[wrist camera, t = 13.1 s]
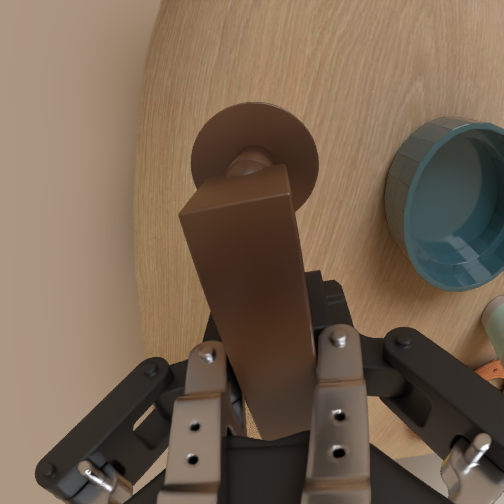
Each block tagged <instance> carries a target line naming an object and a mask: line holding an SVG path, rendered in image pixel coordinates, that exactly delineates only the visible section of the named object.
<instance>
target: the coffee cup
mask: <svg viewBox="0 0 504 504" xmlns="http://www.w3.org/2000/svg"><path fill="white" fill-rule="evenodd" d="M481 321H482V324H483V326H484V328H485V330H486V333H487V335H488V337H489V339H490V341H491V343H492V345H493V347H494V349H495V352H496V354H497V356H498V358H499V360H500V363H501V365H502V367H503V370H504V295H502V296H499V297H497V298H495V299H494V300H492V301H491V302H490V303H489V304H488V305H487V307H486V308H485V310H484V312H483V314H482V318H481Z"/></svg>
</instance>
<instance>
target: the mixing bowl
mask: <svg viewBox="0 0 504 504" xmlns="http://www.w3.org/2000/svg"><path fill="white" fill-rule="evenodd" d="M385 215H386V219H387V223H388V226H389V229H390V233H391V235H392V237H393V238H394V240H395V241H396V243H397V245H398V246H399V248H400V249H401V251H402V252H403V253H404V255H405V256H406V258H407V259H408V260H409V262H410V263H411V264H412V266H413V267H414V269H415V270H416V272H417V273H418V274H419V275H420V276H421V277H422V278H423V279H425V280H426V281H427V282H428V283H429V284H430V285H432V286H434V287H437V288H440V289H442V290H445V291H458V292H462V291H467V290H471V289H475V288H478V287H480V286H482V285H484V284H486V283H488V282H490V281H491V280H493V279H494V278H496V277H497V276H498V275H499V274H500V273H501V272H503V271H504V129H503V128H500V127H498V126H496V125H493V124H491V123H487V122H483V121H478V120H473V119H468V118H462V117H442V118H439V119H436V120H433V121H431V122H428V123H425V124H424V125H423V126H421V127H420V128H419V129H418V130H416V131H415V132H414V133H412V134H411V135H410V136H409V137H408V139H407V140H406V141H405V143H404V144H403V145H402V147H401V148H400V149H399V150H398V152H397V154H396V156H395V159H394V161H393V163H392V166H391V168H390V170H389V173H388V178H387V184H386V189H385Z"/></svg>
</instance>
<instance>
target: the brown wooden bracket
mask: <svg viewBox="0 0 504 504" xmlns="http://www.w3.org/2000/svg"><path fill="white" fill-rule="evenodd" d="M318 169H319V160H318V153H317V149H316V145H315V143H314V140H313V138H312V136H311V134H310V132H309V131H308V130H307V128H306V127H305V126H304V124H303V123H302V122H301V121H300V120H299V119H298V118H297V117H295V116H294V115H293V114H291V113H290V112H288V111H286V110H285V109H283V108H281V107H279V106H276V105H273V104H269V103H263V102H247V103H240V104H237V105H233V106H230V107H228V108H226V109H224V110H222V111H220V112H219V113H217V114H216V115H215V116H213V117H212V118H211V119H210V120H209V121H208V122H207V123H206V124H205V125H204V126H203V128H202V129H201V131H200V132H199V134H198V136H197V138H196V140H195V143H194V146H193V150H192V155H191V171H192V176H193V180H194V183H195V186H196V188H197V191H196V192H195V194H194V195H193V196H192V197H191V199H190V200H189V201H188V202H187V204H186V205H185V206H184V208H183V209H182V210H181V211H180V213H179V219H180V222H181V225H182V228H183V232H184V235H185V238H186V241H187V244H188V247H189V250H190V253H191V256H192V259H193V262H194V265H195V268H196V271H197V274H198V277H199V279H200V282H201V285H202V288H203V291H204V294H205V297H206V299H207V302H208V305H209V308H210V310H211V313H212V316H213V319H214V321H215V324H216V327H217V330H218V332H219V335H220V338H221V340H222V343H223V345H224V348H225V351H226V353H227V356H228V358H229V361H230V364H231V366H232V369H233V371H234V374H235V376H236V379H237V381H238V384H239V386H240V389H241V391H242V393H243V396H244V398H245V401H246V403H247V406H248V408H249V410H250V413H251V415H252V417H253V420H254V422H255V424H256V427H257V429H258V431H259V434H260V436H261V438H262V440H266V441H272V440H276V439H280V438H283V437H286V436H289V435H293V434H296V433H299V432H302V431H306V430H311V422H312V410H313V396H314V385H315V382H317V358H316V350H315V342H314V334H313V327H312V319H311V312H310V305H309V298H308V291H307V284H306V277H305V271H304V265H303V258H302V252H301V246H300V240H299V234H298V228H297V222H296V216H295V212H296V211H297V210H298V209H299V208H300V207H301V206H302V205H303V204H304V203H305V202H306V201H307V199H308V198H309V196H310V194H311V193H312V191H313V189H314V186H315V183H316V180H317V176H318Z"/></svg>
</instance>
